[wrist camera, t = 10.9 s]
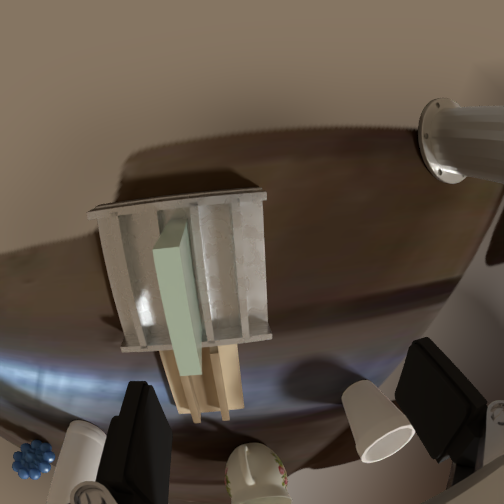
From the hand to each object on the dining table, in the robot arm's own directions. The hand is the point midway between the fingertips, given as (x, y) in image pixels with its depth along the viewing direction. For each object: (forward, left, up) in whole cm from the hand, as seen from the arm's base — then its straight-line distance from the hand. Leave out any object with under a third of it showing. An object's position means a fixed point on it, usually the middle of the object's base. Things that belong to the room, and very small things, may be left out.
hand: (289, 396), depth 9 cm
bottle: (+31, +35, -25) cm, 53 cm away
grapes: (+48, +43, -25) cm, 69 cm away
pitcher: (+1, +42, -25) cm, 49 cm away
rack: (+6, +4, -25) cm, 26 cm away
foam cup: (-19, +31, -25) cm, 45 cm away
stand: (+6, +20, -25) cm, 33 cm away
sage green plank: (+5, +4, -23) cm, 24 cm away
